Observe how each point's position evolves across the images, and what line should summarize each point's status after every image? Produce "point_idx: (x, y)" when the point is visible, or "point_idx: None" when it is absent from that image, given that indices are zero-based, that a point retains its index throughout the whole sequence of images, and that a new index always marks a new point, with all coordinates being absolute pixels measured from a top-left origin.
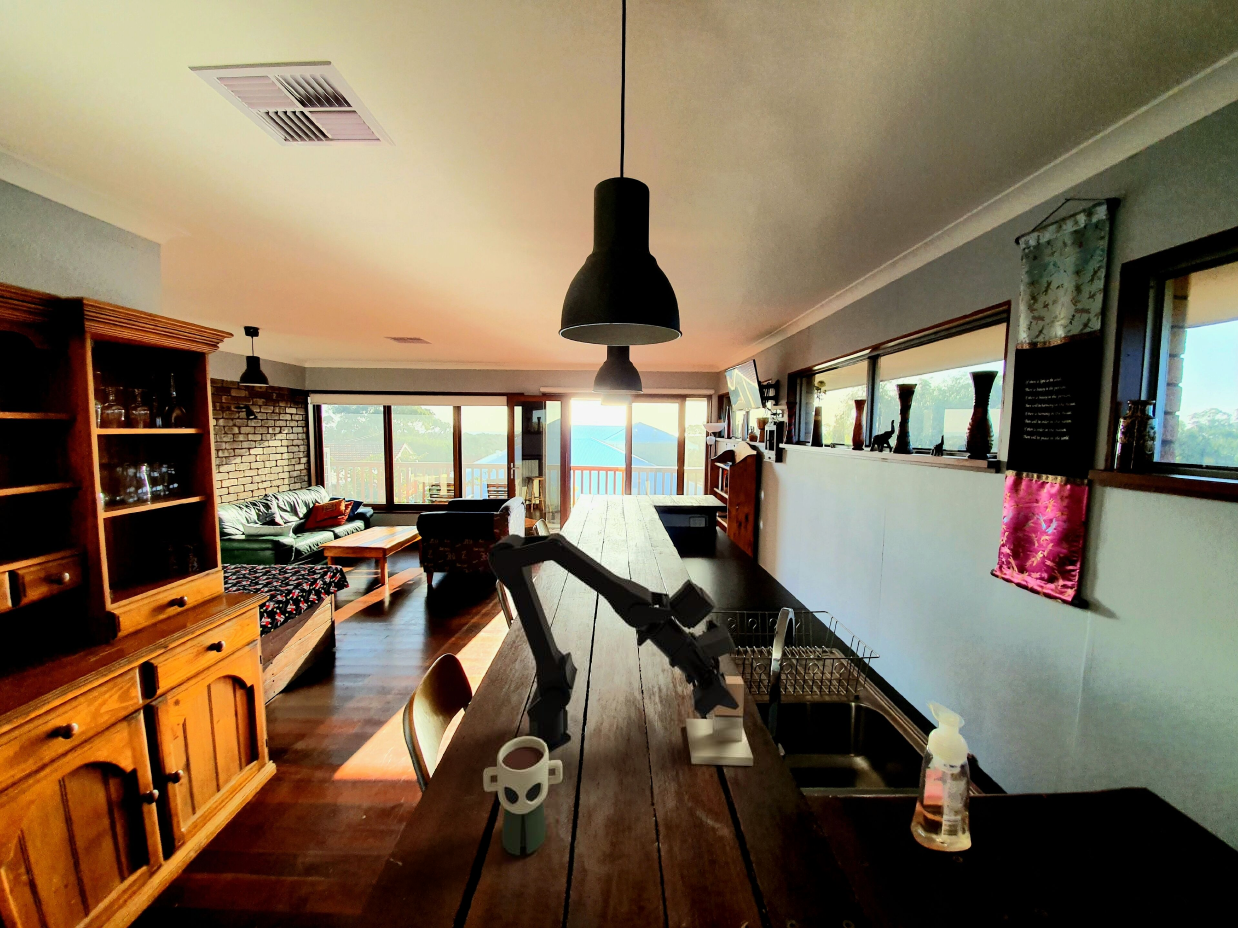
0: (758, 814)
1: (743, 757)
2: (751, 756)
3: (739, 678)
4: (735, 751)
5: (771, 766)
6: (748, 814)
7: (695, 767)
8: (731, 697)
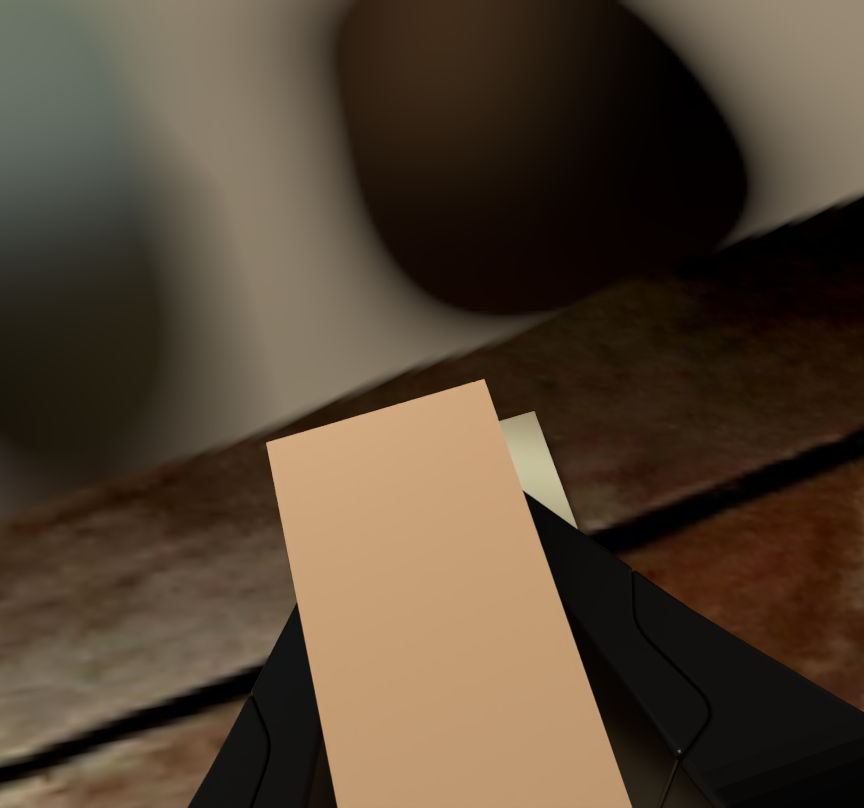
0: (749, 389)
1: (548, 450)
2: (530, 418)
3: (340, 462)
4: (525, 487)
5: (502, 353)
6: (767, 420)
7: None
8: (597, 547)
